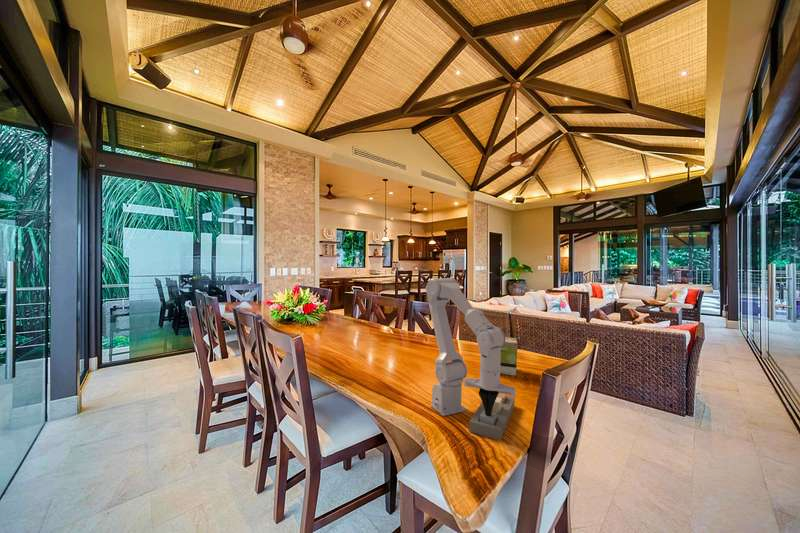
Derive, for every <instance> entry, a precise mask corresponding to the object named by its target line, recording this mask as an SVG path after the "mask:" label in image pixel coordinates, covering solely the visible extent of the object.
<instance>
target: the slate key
mask: <svg viewBox="0 0 800 533" xmlns="http://www.w3.org/2000/svg"><path fill="white" fill-rule="evenodd" d="M496 421H497V413H494V412H492V414H491V416H487V415H485V410H483V411H482V413H481V415H480V422H483V423H487V424H491V425H494V426H495V425H496Z"/></svg>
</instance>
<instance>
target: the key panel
mask: <svg viewBox="0 0 800 533" xmlns="http://www.w3.org/2000/svg"><path fill="white" fill-rule="evenodd" d="M515 400H516V397H512V396H510V395H508V396H507V395H506V403H505V404H504V403H502V412H501V414H499V413H497V421H496V425H495V426H494V425H491V424H487V423H483V422H480V415H481V413H482V411H483V410H485V409H484V405H483V402H482V401H481V403H480V404H479V406H478V407H477V409H476V410H475V412H474V414H473V416H472V417H471V419H470V420H469V424H468V426H469V429H468V432H469V433H473V434H476V435H479V436H483V437H486V438H491V439H495V440H498V441H502V439H503V436H504V435H505V431H506V429H507V426H508V423H509V420H510V419H511V416H512V413H513V411H514V408H515V403H516V402H515ZM494 413H495V412H494Z"/></svg>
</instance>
